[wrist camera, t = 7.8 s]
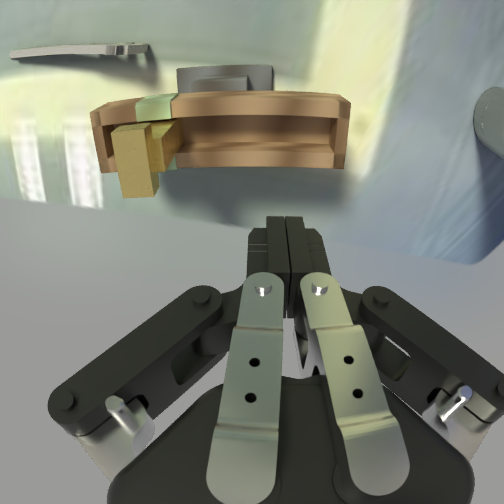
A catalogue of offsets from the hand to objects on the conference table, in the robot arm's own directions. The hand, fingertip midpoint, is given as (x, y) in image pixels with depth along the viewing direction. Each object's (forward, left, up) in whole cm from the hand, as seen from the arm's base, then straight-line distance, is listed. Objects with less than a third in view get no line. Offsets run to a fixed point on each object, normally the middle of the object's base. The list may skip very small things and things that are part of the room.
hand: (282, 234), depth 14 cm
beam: (+4, 0, -24) cm, 25 cm away
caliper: (+23, -10, -25) cm, 35 cm away
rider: (+9, 0, -17) cm, 19 cm away
